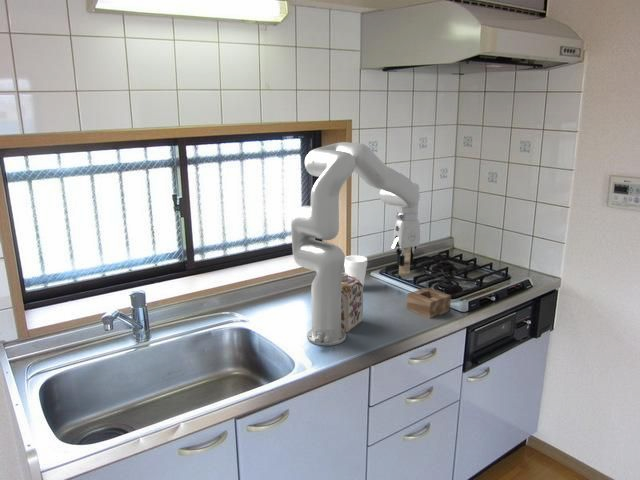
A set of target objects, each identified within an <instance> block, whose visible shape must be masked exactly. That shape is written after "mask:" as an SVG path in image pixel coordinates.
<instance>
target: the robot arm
mask: <svg viewBox="0 0 640 480" xmlns="http://www.w3.org/2000/svg"><path fill="white" fill-rule="evenodd" d="M304 167H305V170H306V172H307V173H308V174H309V175H311V176H312V177H313V176H314V177H318V178H317V179H316V181H315V182H314V184H313V186H312V188H311V190H310V191H311V192H310V205H301V206H299V207H298V208H297V209H296V210H295V211H294V213H293V215H292V217H291V225H290V227H291V228H290V229H291V230H290V233H291V248H292V256H293V260H294V262H295V264H297V266H300V267H302V268H305V269H307V270H311V271H313V272H316V274H315V277H314V278H313V280H312V282H311V287H310V288H311V289H310V290H311V292H310V294H311V297H310V298H311V329H310V330H308V331H307V334H306V337H307V340H308V341H309V342H310V343H312V344H314V345H318V346H325V347H327V346H335V345H339V344H341V343H343V342H344V341H346V338H347V334H346V333H347V332H344V331H343V330H342V329H341V282H342V272H343V271H344V268H345V267H344V263H345V257H346V256H345V252H344V251H343V249H342V248H341V247H340V246H338V245H335V244H334V243H331V242H326V241H331V240H334V239H336V238H337V237H338V234H339V232H340V231H339V230H340V207H339V205H340V203H339V202H340V201H339V198H340V192H341V191H342V188H343V185H344V184H345V182H346V181H347V180H349V178H350V177H351V175H352V174H353V173H354V172H355V173H356V174H357V175H358V176H359V177H360V178H361V179H362V180H363V181H364V182H365V183H366V184H367V185H368V186H370V187H372V188H375V189H377V190H379V195H378V196H379V199H380V201H381V202H382V203H383V204H386V205H389V206H397V207H396V208H397V211H396V216H395V217H396V220H395V224H394V227H393V228H394V230H393V237H392V238H393V240H392V242H393V244H392V245H391V250H392V251H393V252H394V253H395V254H396V265H397V266H399V265H400V266H404V256H403V254H404V249H405V248H410V247H411V257H410V265H412V264H413V263H414V254H415V253H416V249H417V247H419V246H420V243H421V241H420V240H421V239H420V238H421V229H420V227H421V226H420V220H419V219H418V216H419V214H418V213H419V201H420V197H421V196H420V195H421V194H420V186H419V185H420V184H418V183H416V182H413V181H412V180H411V179H410V178H409V177H407V176H405V175H404V174H403V173H400V172H399V171H397V170H395V169H393V168H392V167H389V166H388V165H386V164H385V163H384V162H383V161H382V160H381V158H379V156H377V154H376V153H374V151H373V150H372V149H371V148H370V147H369V146H367V144H364V143H360V142H346V141H342V142H336V143H332V144H331V143H330V144H328V145H323V146H320V147H316V148H314V149H312V150H310V151H308V154H306V156H305V158H304ZM316 239H318V240H316ZM320 240H321V241H320ZM400 249H401V251H400Z"/></svg>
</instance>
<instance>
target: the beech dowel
mask: <svg viewBox="0 0 640 480" xmlns="http://www.w3.org/2000/svg"><path fill="white" fill-rule="evenodd" d="M400 251H401V249H400ZM403 256H404V266H400V265H398V276H400V277H409V276H410V274H411V273H410V272H411V264H410V257H411V247H410V248H405V249H404V254H403Z"/></svg>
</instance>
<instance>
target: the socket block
mask: <svg viewBox="0 0 640 480" xmlns="http://www.w3.org/2000/svg"><path fill="white" fill-rule="evenodd" d="M406 298H407V300H406V301H407V302H406V310H409V311H411V312H414V313H416V314H418V315H421V316H423V317H425V318H428V319H432V318H434V316H435V317H437V315H438V316H440V315H443V314H445V312H446V313H448V312H447V311H449V310H450V311H451V306H452V305H451V303H452V299H451V298H452V295H451V294H447V293H446V292H443V291H439V290H437V289H435V288H431V287H429V286H427V287H425V288H421V289H418V290H415V291H412V292H411V291H410V292H408V293H407V297H406ZM450 311H449V312H450ZM442 313H443V314H442ZM439 314H440V315H439Z"/></svg>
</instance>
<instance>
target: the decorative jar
mask: <svg viewBox="0 0 640 480" xmlns="http://www.w3.org/2000/svg"><path fill="white" fill-rule="evenodd" d="M363 313H364V286H363V285H362V284H361V283H360V281H359V280H357V279H356V278H355V277H353V276H348V274H347V273H345V271H344V272H342V282H341V329H342V330H343V331H344V332H345V333H349V332H350V331H351V330H352V329H354V328H355V327H357V326H358V325H359V324H360V323H361V322H362V321H363V318H364V317H363V315H364V314H363Z"/></svg>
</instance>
